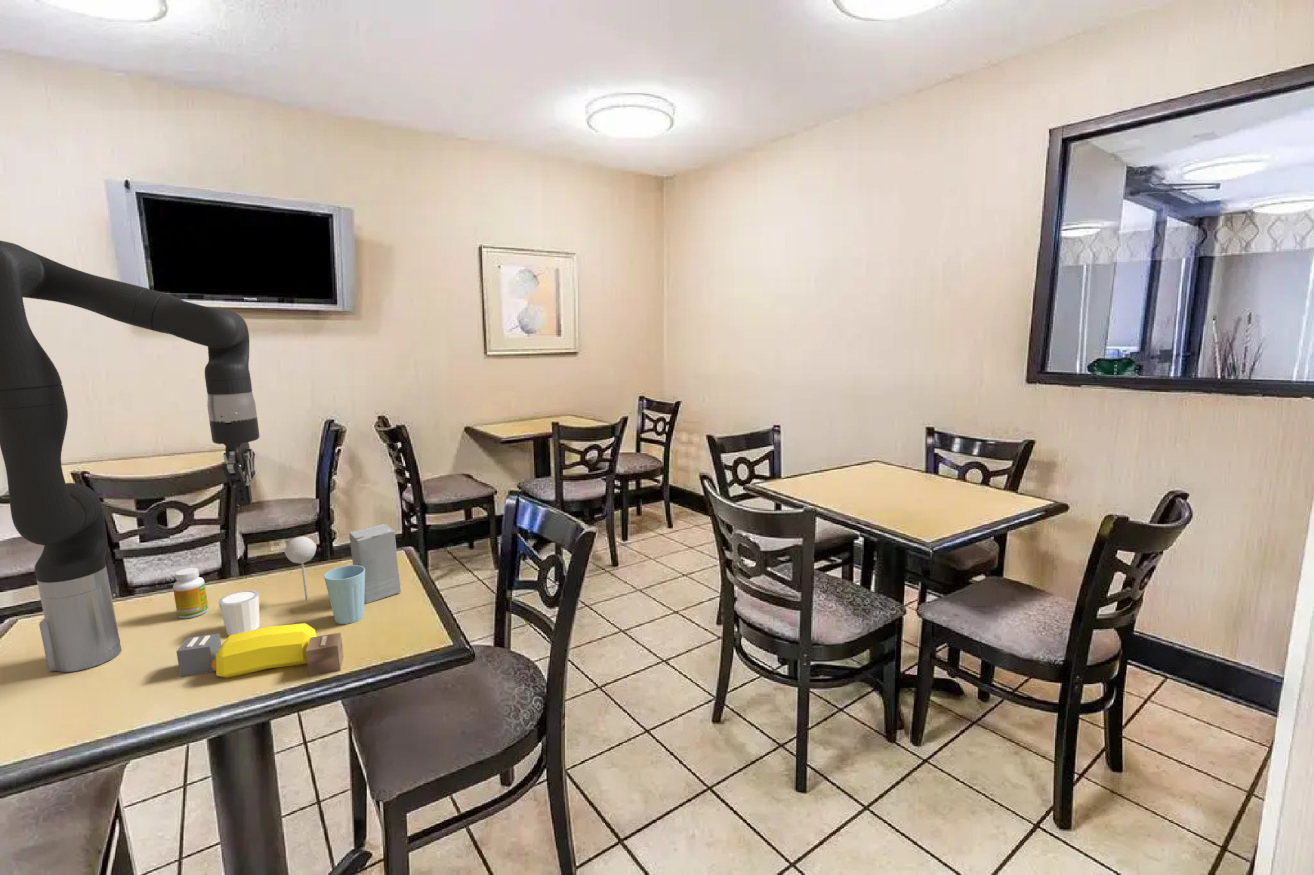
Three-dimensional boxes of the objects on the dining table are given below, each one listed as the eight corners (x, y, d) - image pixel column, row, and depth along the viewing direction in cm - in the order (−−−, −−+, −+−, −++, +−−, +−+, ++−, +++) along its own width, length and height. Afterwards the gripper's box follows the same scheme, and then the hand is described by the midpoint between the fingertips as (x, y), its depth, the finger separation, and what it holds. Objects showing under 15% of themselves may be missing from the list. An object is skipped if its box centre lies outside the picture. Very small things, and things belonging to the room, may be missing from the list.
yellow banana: (218, 663, 113) (205, 686, 106) (213, 630, 111) (200, 651, 104) (328, 644, 119) (322, 665, 112) (324, 613, 118) (318, 631, 111)
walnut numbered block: (309, 676, 108) (305, 649, 107) (313, 662, 113) (310, 636, 112) (340, 671, 110) (337, 644, 109) (343, 657, 115) (340, 631, 114)
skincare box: (391, 585, 146) (385, 521, 143) (402, 594, 141) (397, 529, 138) (353, 595, 140) (347, 530, 137) (364, 606, 135) (357, 538, 132)
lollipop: (314, 592, 142) (307, 531, 139) (327, 598, 139) (320, 536, 136) (286, 602, 137) (278, 538, 134) (298, 609, 134) (290, 544, 131)
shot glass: (215, 632, 124) (211, 600, 123) (251, 618, 130) (246, 587, 129) (234, 640, 121) (230, 607, 119) (270, 625, 127) (266, 593, 125)
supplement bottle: (208, 614, 131) (201, 572, 130) (176, 621, 128) (169, 578, 127) (209, 605, 136) (202, 564, 134) (178, 611, 133) (171, 569, 131)
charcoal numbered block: (180, 677, 108) (176, 650, 107) (191, 662, 113) (187, 636, 112) (213, 672, 110) (209, 645, 109) (223, 657, 114) (219, 632, 114)
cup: (377, 610, 133) (372, 565, 131) (355, 628, 125) (350, 580, 123) (345, 608, 134) (339, 564, 132) (321, 626, 126) (315, 579, 124)
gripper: (220, 413, 120) (232, 497, 124) (198, 423, 108) (211, 516, 112) (264, 411, 123) (274, 493, 126) (247, 420, 111) (259, 511, 114)
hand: (245, 504), depth 119 cm, fingers closed
